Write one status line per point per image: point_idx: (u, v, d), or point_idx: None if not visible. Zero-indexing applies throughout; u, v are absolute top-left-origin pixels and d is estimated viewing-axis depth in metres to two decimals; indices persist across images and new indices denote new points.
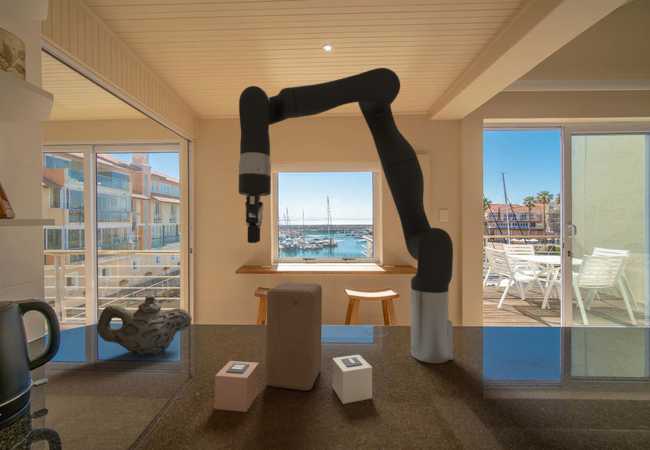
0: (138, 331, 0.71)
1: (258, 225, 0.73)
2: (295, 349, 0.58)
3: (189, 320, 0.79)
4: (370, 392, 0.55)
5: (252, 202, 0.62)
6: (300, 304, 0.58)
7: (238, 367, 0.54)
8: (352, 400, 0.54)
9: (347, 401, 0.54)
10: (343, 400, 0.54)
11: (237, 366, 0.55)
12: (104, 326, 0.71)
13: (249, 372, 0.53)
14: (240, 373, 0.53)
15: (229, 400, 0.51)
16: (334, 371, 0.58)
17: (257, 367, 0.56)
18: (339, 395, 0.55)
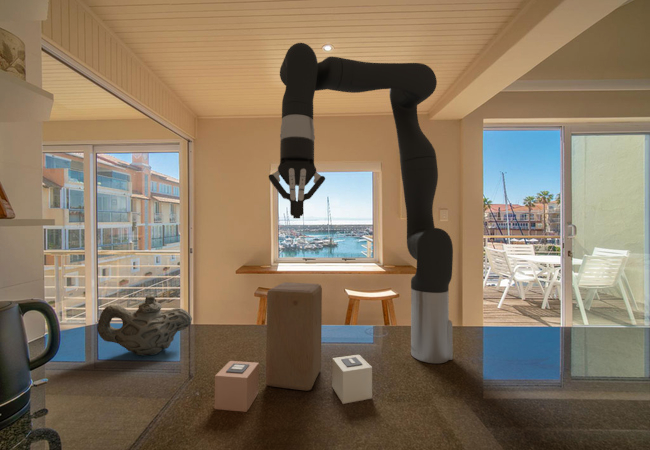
0: (138, 331, 0.71)
1: None
2: (295, 349, 0.58)
3: (189, 320, 0.79)
4: (370, 392, 0.55)
5: None
6: (300, 304, 0.58)
7: (238, 367, 0.54)
8: (352, 400, 0.54)
9: (347, 401, 0.54)
10: (343, 400, 0.54)
11: (237, 366, 0.55)
12: (104, 326, 0.71)
13: (249, 372, 0.53)
14: (240, 373, 0.53)
15: (229, 400, 0.51)
16: (334, 371, 0.58)
17: (257, 367, 0.56)
18: (339, 395, 0.55)
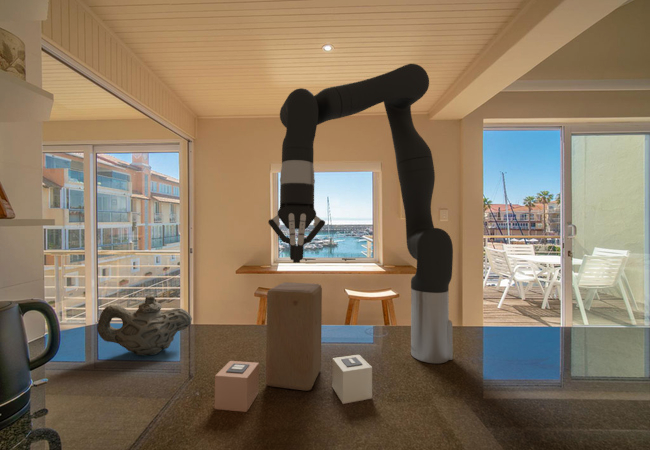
0: (138, 331, 0.71)
1: None
2: (295, 349, 0.58)
3: (189, 320, 0.79)
4: (370, 392, 0.55)
5: None
6: (300, 304, 0.58)
7: (238, 367, 0.54)
8: (352, 400, 0.54)
9: (347, 401, 0.54)
10: (343, 400, 0.54)
11: (237, 366, 0.55)
12: (104, 326, 0.71)
13: (249, 372, 0.53)
14: (240, 373, 0.53)
15: (229, 400, 0.51)
16: (334, 371, 0.58)
17: (257, 367, 0.56)
18: (339, 395, 0.55)
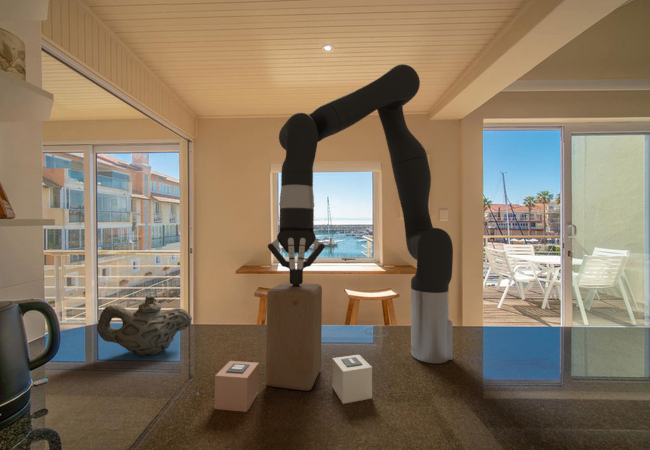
0: (138, 331, 0.71)
1: None
2: (295, 349, 0.58)
3: (189, 320, 0.79)
4: (370, 392, 0.55)
5: None
6: (300, 304, 0.58)
7: (238, 367, 0.54)
8: (352, 400, 0.54)
9: (347, 401, 0.54)
10: (343, 400, 0.54)
11: (237, 366, 0.55)
12: (104, 326, 0.71)
13: (249, 372, 0.53)
14: (240, 373, 0.53)
15: (229, 400, 0.51)
16: (334, 371, 0.58)
17: (257, 367, 0.56)
18: (339, 395, 0.55)
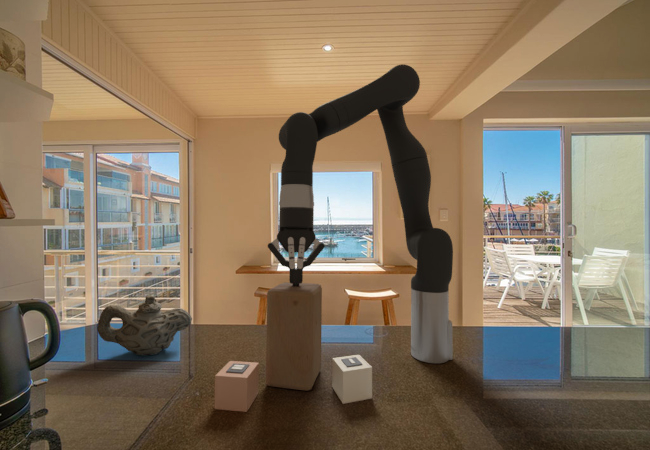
0: (138, 331, 0.71)
1: None
2: (295, 349, 0.58)
3: (189, 320, 0.79)
4: (370, 392, 0.55)
5: None
6: (300, 304, 0.58)
7: (238, 367, 0.54)
8: (352, 400, 0.54)
9: (347, 401, 0.54)
10: (343, 400, 0.54)
11: (237, 366, 0.55)
12: (104, 326, 0.71)
13: (249, 372, 0.53)
14: (240, 373, 0.53)
15: (229, 400, 0.51)
16: (334, 371, 0.58)
17: (257, 367, 0.56)
18: (339, 395, 0.55)
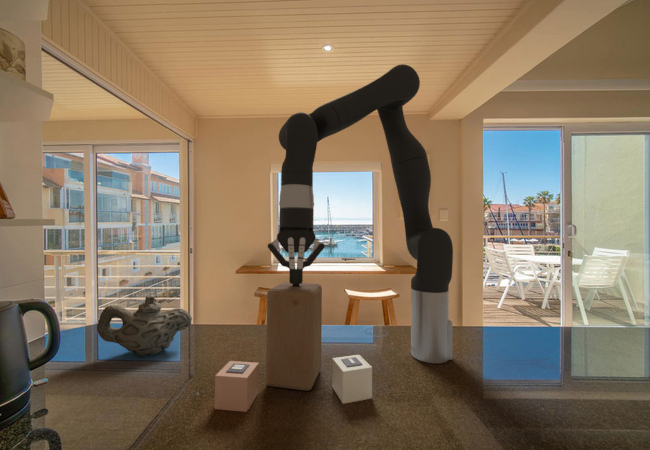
0: (138, 331, 0.71)
1: None
2: (295, 349, 0.58)
3: (189, 320, 0.79)
4: (370, 392, 0.55)
5: None
6: (300, 304, 0.58)
7: (238, 367, 0.54)
8: (352, 400, 0.54)
9: (347, 401, 0.54)
10: (343, 400, 0.54)
11: (237, 366, 0.55)
12: (104, 326, 0.71)
13: (249, 372, 0.53)
14: (240, 373, 0.53)
15: (229, 400, 0.51)
16: (334, 371, 0.58)
17: (257, 367, 0.56)
18: (339, 395, 0.55)
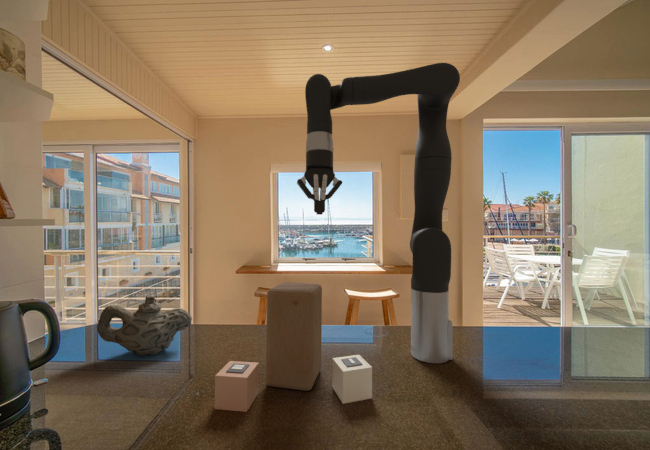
0: (138, 331, 0.71)
1: None
2: (295, 349, 0.58)
3: (189, 320, 0.79)
4: (370, 392, 0.55)
5: None
6: (300, 304, 0.58)
7: (238, 367, 0.54)
8: (352, 400, 0.54)
9: (347, 401, 0.54)
10: (343, 400, 0.54)
11: (237, 366, 0.55)
12: (104, 326, 0.71)
13: (249, 372, 0.53)
14: (240, 373, 0.53)
15: (229, 400, 0.51)
16: (334, 371, 0.58)
17: (257, 367, 0.56)
18: (339, 395, 0.55)
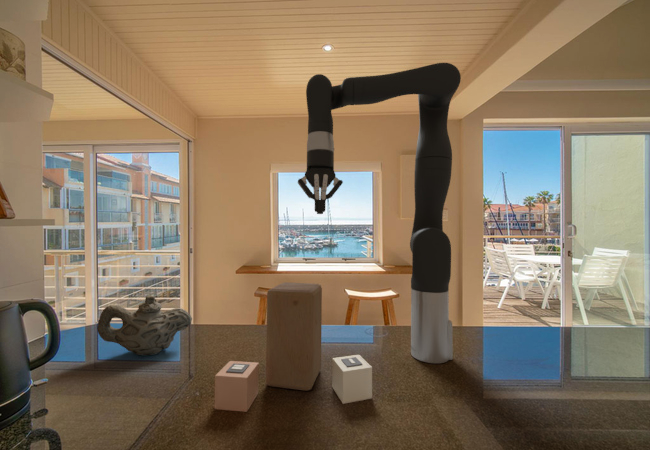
0: (138, 331, 0.71)
1: None
2: (295, 349, 0.58)
3: (189, 320, 0.79)
4: (370, 392, 0.55)
5: None
6: (300, 304, 0.58)
7: (238, 367, 0.54)
8: (352, 400, 0.54)
9: (347, 401, 0.54)
10: (343, 400, 0.54)
11: (237, 366, 0.55)
12: (104, 326, 0.71)
13: (249, 372, 0.53)
14: (240, 373, 0.53)
15: (229, 400, 0.51)
16: (334, 371, 0.58)
17: (257, 367, 0.56)
18: (339, 395, 0.55)
